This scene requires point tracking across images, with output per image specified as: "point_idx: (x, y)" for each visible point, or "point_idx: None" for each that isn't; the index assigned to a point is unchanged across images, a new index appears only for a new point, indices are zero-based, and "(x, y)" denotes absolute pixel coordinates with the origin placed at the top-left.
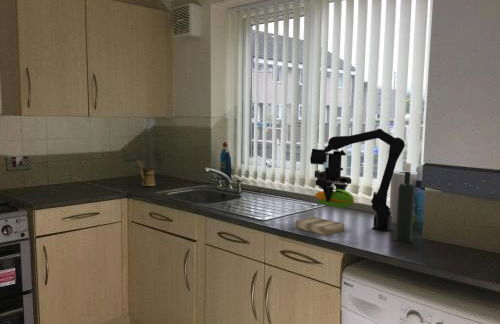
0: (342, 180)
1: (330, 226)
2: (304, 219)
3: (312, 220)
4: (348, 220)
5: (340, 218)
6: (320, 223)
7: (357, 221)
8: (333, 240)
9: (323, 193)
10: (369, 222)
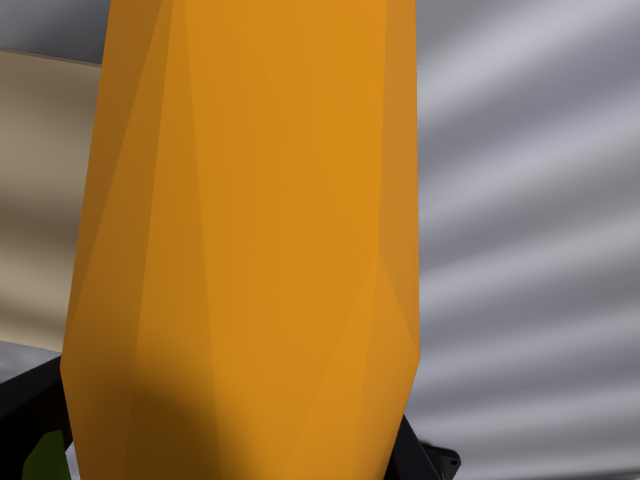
0: None
1: (49, 343)
2: (8, 79)
3: (54, 165)
4: (547, 268)
5: (602, 184)
6: (44, 264)
7: (547, 328)
8: (14, 363)
9: (70, 307)
10: (559, 392)
